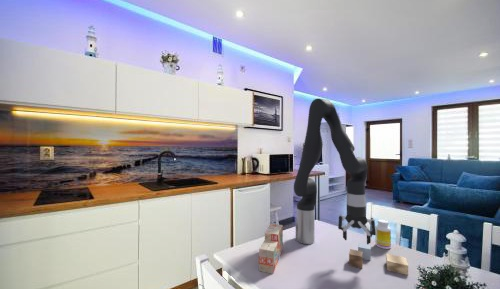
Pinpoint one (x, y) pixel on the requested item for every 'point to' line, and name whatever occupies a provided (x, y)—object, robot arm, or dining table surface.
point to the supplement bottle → (383, 235)
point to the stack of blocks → (271, 248)
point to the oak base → (397, 264)
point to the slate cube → (365, 250)
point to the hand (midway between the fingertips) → (356, 241)
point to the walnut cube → (356, 258)
